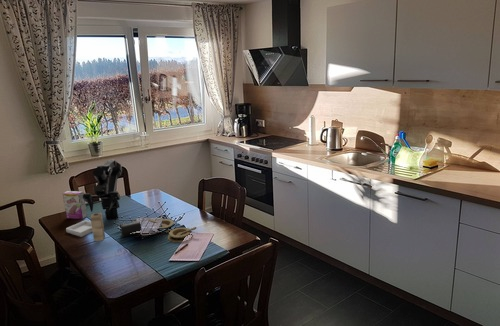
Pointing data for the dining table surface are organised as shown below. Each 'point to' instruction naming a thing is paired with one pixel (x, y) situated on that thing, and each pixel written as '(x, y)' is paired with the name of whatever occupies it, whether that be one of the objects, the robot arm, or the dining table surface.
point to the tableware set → (174, 230)
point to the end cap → (130, 228)
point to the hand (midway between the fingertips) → (100, 210)
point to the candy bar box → (74, 205)
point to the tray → (80, 228)
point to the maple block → (97, 226)
